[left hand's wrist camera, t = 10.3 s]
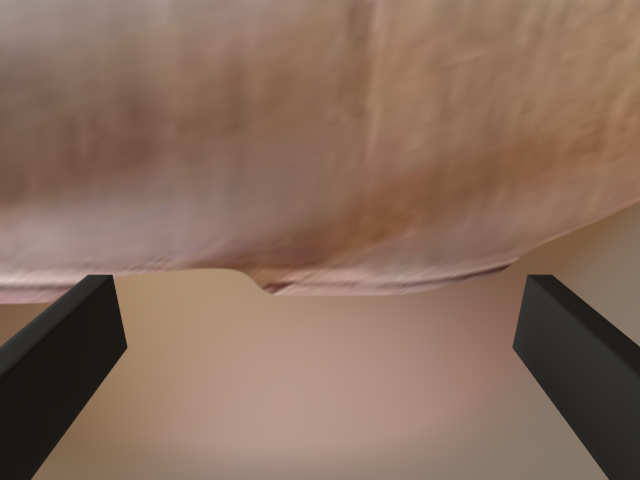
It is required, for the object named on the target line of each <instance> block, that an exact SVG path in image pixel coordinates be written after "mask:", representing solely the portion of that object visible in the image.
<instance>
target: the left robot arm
mask: <svg viewBox="0 0 640 480" xmlns="http://www.w3.org/2000/svg"><path fill="white" fill-rule="evenodd" d="M126 349H127V343H126V338H125V333H124V329H123V324H122V319H121V314H120V309H119V304H118V299H117V295H116V290H115V285H114V280H113V275H87V276H86V277H85V278H84V279H82V280H81V281H80V282H79V283H78V284H76V285H75V286H74V287H73V288H71V289H70V290H69V291H68V292H67V293H65V294H64V295H63V296H62V297H60V298H59V299H58V300H57V301H56V302H54V303H53V304H52V305H51V306H50V307H48V308H47V309H46V310H45V311H43V312H42V313H41V314H40V315H38V316H37V317H36V318H35V319H34V320H32V321H31V322H30V323H29V324H28V325H26V326H25V327H24V328H23V329H21V330H20V331H19V332H18V333H17V334H15V335H14V336H13V337H12V338H11V339H9V340H8V341H7V342H6V343H4V344H3V345H2V346H1V347H0V480H31V479H32V477H33V476H34V475H35V473H36V472H37V471H38V469H39V468H40V466H41V465H42V464H43V462H44V461H45V460H46V458H47V457H48V456H49V454H50V453H51V451H52V450H53V449H54V447H55V446H56V445H57V443H58V442H59V441H60V439H61V438H62V436H63V435H64V434H65V432H66V431H67V430H68V428H69V427H70V425H71V424H72V423H73V421H74V420H75V419H76V417H77V416H78V414H79V413H80V412H81V410H82V409H83V408H84V406H85V405H86V404H87V402H88V401H89V400H90V398H91V397H92V395H93V394H94V393H95V391H96V390H97V389H98V387H99V386H100V385H101V383H102V382H103V380H104V379H105V378H106V376H107V375H108V374H109V372H110V371H111V369H112V368H113V367H114V365H115V364H116V363H117V361H118V360H119V359H120V357H121V356H122V354H123V353H124V352H125V350H126ZM513 349H514V350H515V352H516V353H517V354H518V356H519V357H520V359H521V360H522V361H523V363H524V364H525V365H526V367H527V368H528V369H529V371H530V372H531V374H532V375H533V376H534V378H535V379H536V380H537V382H538V383H539V384H540V386H541V387H542V389H543V390H544V391H545V393H546V394H547V395H548V397H549V398H550V400H551V401H552V402H553V404H554V405H555V406H556V408H557V409H558V410H559V412H560V413H561V415H562V416H563V417H564V419H565V420H566V421H567V423H568V424H569V426H570V427H571V428H572V430H573V431H574V432H575V434H576V435H577V436H578V438H579V439H580V441H581V442H582V443H583V445H584V446H585V447H586V449H587V450H588V451H589V453H590V454H591V456H592V457H593V458H594V460H595V461H596V462H597V464H598V465H599V467H600V468H601V469H602V471H603V472H604V473H605V475H606V476H607V477H608V479H609V480H640V347H639V346H638V345H637V344H636V343H634V342H633V341H632V340H631V339H630V338H628V337H627V336H626V335H625V334H623V333H622V332H621V331H620V330H619V329H617V328H616V327H615V326H614V325H612V324H611V323H610V322H609V321H608V320H606V319H605V318H604V317H603V316H601V315H600V314H599V313H598V312H597V311H595V310H594V309H593V308H592V307H590V306H589V305H588V304H587V303H586V302H584V301H583V300H582V299H581V298H580V297H578V296H577V295H576V294H575V293H573V292H572V291H571V290H570V289H569V288H567V287H566V286H565V285H564V284H562V283H561V282H560V281H559V280H558V279H556V278H555V277H554V276H553V275H527V280H526V285H525V290H524V295H523V299H522V304H521V309H520V314H519V319H518V324H517V328H516V333H515V338H514V343H513Z"/></svg>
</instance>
